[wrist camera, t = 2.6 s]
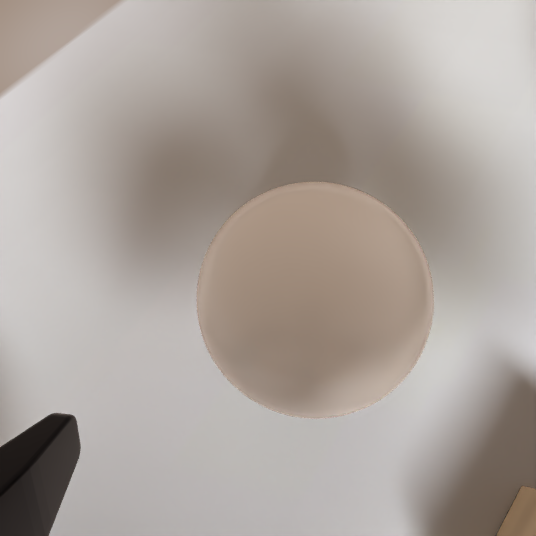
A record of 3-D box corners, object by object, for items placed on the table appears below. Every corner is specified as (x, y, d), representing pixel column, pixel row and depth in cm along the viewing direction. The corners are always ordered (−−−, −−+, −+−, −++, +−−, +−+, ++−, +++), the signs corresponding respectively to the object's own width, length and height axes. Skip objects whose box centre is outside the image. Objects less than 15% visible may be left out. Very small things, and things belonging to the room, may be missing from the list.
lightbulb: (361, 437, 19) (469, 445, 8) (211, 407, 19) (137, 378, 9) (378, 291, 21) (481, 153, 10) (242, 267, 21) (212, 112, 11)
